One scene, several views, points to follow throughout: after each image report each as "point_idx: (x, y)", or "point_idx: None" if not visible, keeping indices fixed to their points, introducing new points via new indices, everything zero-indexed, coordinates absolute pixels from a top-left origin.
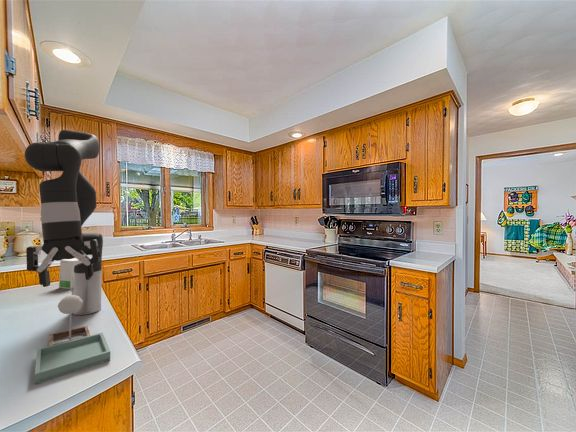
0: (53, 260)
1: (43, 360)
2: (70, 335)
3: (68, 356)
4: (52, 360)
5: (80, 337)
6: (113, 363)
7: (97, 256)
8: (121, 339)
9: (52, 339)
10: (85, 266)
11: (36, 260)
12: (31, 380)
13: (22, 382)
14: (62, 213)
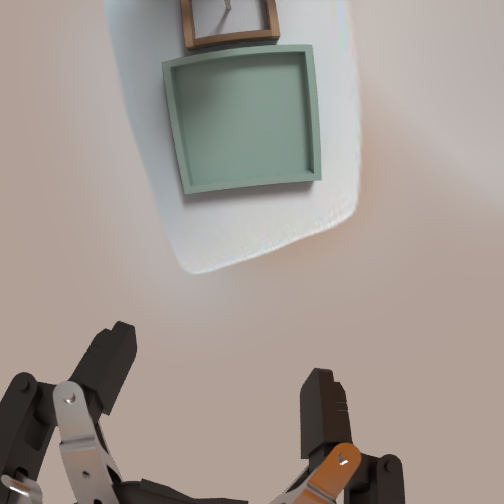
0: (104, 464)
1: (184, 101)
2: (228, 4)
3: (233, 110)
4: (202, 113)
5: (255, 31)
6: (319, 192)
7: (366, 497)
8: (350, 78)
9: (187, 10)
10: (306, 457)
11: (20, 432)
12: None
13: (166, 166)
14: None
